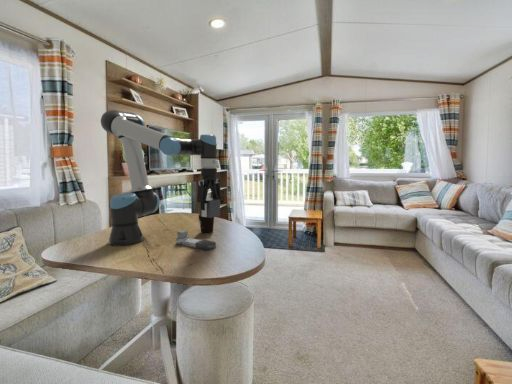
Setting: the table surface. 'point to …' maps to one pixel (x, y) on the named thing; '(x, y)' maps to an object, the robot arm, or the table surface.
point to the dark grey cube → (211, 207)
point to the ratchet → (194, 241)
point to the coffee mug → (206, 224)
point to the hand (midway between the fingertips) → (210, 215)
